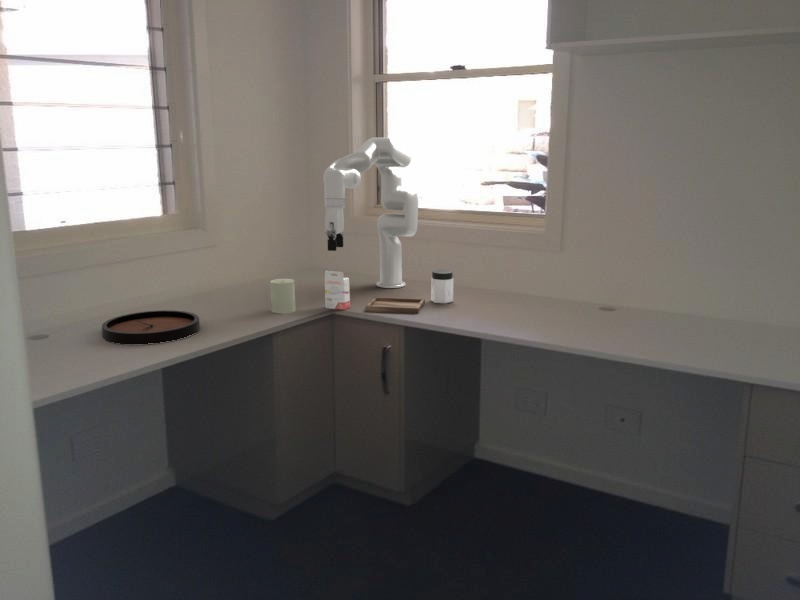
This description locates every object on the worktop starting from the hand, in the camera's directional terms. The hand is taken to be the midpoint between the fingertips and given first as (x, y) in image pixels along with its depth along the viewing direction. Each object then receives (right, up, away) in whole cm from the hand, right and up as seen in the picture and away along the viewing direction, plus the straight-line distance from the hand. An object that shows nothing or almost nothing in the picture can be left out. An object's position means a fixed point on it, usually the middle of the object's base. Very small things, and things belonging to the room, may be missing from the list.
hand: (335, 248), depth 275 cm
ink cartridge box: (0, -23, +6) cm, 23 cm away
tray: (+23, -22, +5) cm, 32 cm away
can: (-20, -24, +1) cm, 31 cm away
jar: (+41, -20, +16) cm, 48 cm away
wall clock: (-60, -31, -27) cm, 72 cm away
